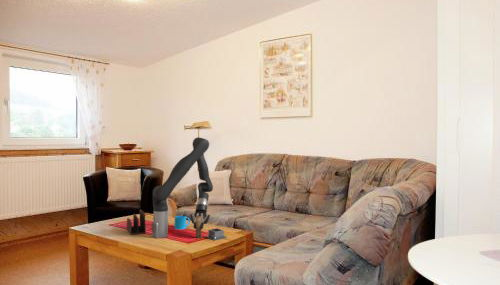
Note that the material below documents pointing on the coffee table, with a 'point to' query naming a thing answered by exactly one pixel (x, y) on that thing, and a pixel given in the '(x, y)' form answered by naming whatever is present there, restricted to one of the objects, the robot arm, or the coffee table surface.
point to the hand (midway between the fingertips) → (198, 228)
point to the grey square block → (216, 234)
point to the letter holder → (137, 224)
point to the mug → (181, 222)
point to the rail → (198, 226)
